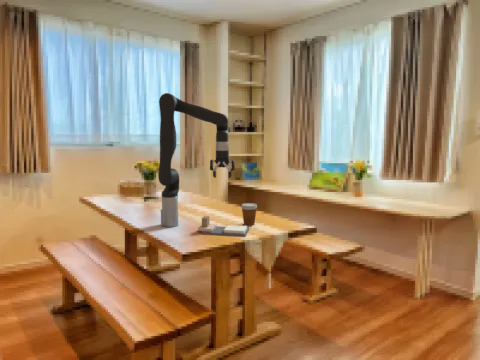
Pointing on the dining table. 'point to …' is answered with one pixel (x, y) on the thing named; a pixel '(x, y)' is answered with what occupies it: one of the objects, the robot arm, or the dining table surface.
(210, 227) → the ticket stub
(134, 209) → the dining table surface
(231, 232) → the ticket base
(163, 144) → the robot arm
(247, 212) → the disposable coffee cup
